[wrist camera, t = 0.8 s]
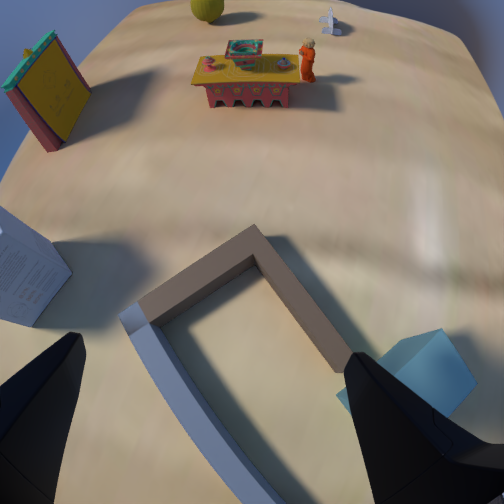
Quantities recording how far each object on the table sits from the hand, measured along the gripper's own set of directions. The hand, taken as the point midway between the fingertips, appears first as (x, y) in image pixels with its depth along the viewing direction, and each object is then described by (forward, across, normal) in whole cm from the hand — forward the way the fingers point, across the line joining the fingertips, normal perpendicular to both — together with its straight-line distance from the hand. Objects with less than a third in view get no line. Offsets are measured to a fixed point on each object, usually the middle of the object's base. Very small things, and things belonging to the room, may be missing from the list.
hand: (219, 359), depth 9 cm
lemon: (+49, +5, -23) cm, 54 cm away
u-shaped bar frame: (+8, -5, +11) cm, 15 cm away
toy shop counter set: (+33, +6, -7) cm, 34 cm away
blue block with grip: (+6, -14, +10) cm, 19 cm away
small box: (+18, +18, +11) cm, 27 cm away
